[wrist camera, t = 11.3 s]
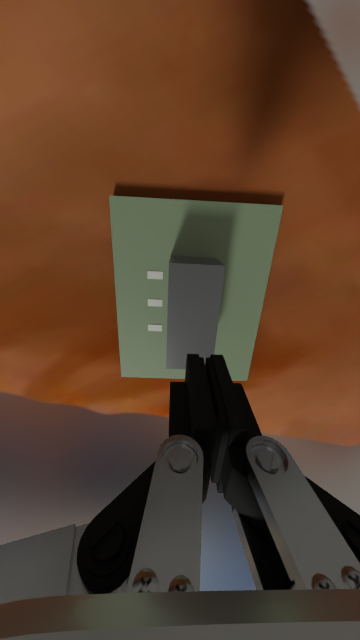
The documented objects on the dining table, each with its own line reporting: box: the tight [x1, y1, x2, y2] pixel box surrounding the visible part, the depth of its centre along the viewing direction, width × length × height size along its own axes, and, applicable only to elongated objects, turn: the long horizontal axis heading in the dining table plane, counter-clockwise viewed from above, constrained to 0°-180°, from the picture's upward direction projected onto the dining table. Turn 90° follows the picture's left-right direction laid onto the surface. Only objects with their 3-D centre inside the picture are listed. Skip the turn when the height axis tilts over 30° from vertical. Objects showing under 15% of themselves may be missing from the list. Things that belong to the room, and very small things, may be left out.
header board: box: [109, 196, 283, 381], centre depth 22 cm, size 20×16×5 cm
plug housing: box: [166, 256, 225, 369], centre depth 21 cm, size 10×4×5 cm, turn 177°
